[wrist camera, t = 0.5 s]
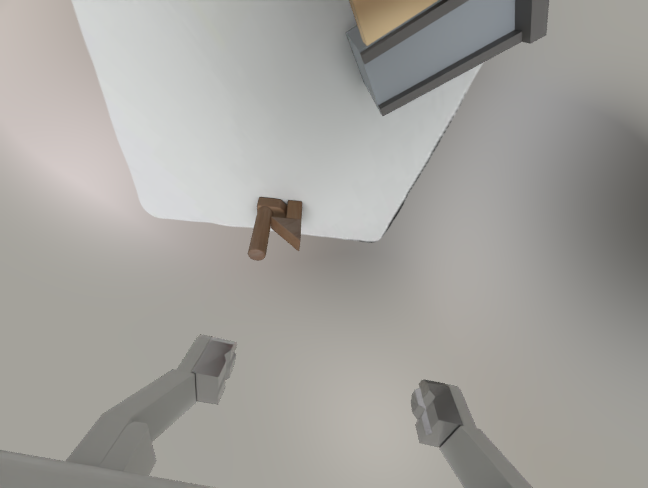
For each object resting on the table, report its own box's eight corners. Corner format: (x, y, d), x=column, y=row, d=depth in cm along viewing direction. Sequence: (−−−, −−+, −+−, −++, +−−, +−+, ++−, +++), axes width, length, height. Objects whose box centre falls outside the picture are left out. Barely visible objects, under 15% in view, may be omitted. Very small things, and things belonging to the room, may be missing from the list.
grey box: (345, 32, 41) (362, 55, 28) (462, -47, 35) (554, -66, 22) (364, 82, 46) (385, 122, 33) (468, 20, 40) (546, 37, 27)
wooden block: (300, 212, 67) (298, 264, 54) (259, 207, 66) (247, 260, 53) (302, 200, 64) (300, 253, 52) (259, 196, 63) (246, 248, 50)
